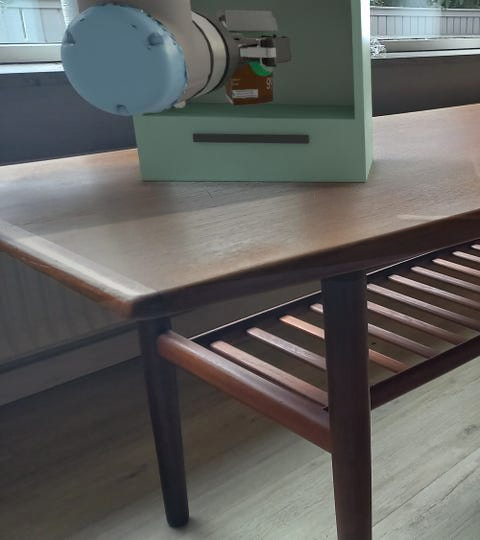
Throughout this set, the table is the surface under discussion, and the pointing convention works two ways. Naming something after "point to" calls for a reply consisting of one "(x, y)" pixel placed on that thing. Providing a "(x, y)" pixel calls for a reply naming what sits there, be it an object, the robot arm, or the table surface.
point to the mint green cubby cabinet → (277, 107)
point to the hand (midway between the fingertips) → (245, 45)
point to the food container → (253, 75)
